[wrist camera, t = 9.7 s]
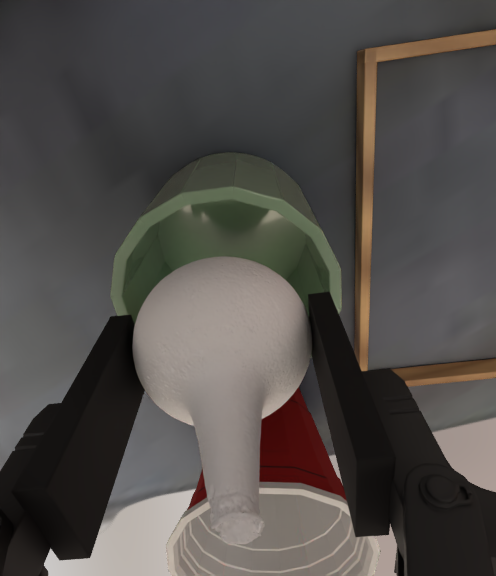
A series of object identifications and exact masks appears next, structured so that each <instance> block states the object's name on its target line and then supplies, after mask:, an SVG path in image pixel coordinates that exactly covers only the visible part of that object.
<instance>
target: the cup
mask: <svg viewBox="0 0 496 576" xmlns="http://www.w3.org/2000/svg"><path fill="white" fill-rule="evenodd" d="M220 256H221V257H223V256H226V257H228V256H229V257H237V258H243V259H248V260H251V261H255V262H257V263H259V264H262V265H264V266H267V267H268V268H270V269H271V270H273V271H274V272H276V273H277V274H279V275H280V276H281V277H282V278H284V279H285V280H286V281H287V282H288V283H289V284H290V285H291V286H292V287H293V289H294V290H295V291H296V293H297V294H298V296H299V297H300V299H301V301H302V302H303V304H304V306H305V308H306V310H307V313H308V316H309V305H308V294H314V293H322V292H330V294H331V296H332V299H333V301H334V304H335V306H336V309H337V311H338V314H339V313H340V311H341V307H342V295H341V267H340V265H339V263H338V261H337V259H336V257H335V255H334V253H333V251H332V249H331V247H330V245H329V243H328V241H327V239H326V237H325V235H324V233H323V231H322V229H321V227H320V226H319V224H318V222H317V220H316V218H315V216H314V214H313V212H312V210H311V208H310V206H309V204H308V202H307V200H306V198H305V196H304V195H303V193H302V191H301V189H300V187H299V185H298V184H297V183H296V182H295V181H294V180H293V179H292V178H291V177H290V176H289V175H288V174H287V173H286V172H284V171H283V170H282V169H280V168H279V167H278V166H276V165H275V164H273V163H271V162H269V161H267V160H265V159H263V158H260V157H257V156H254V155H250V154H245V153H235V152H227V153H217V154H213V155H208V156H205V157H202V158H199V159H197V160H195V161H193V162H192V163H190V164H188V165H186V166H185V167H184V168H182V169H181V170H180V171H178V172H177V173H175V174H174V175H173V176H171V178H170V179H169V180H168V181H167V183H166V184H165V185H164V187H163V188H162V189H161V190H160V192H159V193H158V194H157V196H156V197H155V198H154V199H153V201H152V202H151V203H150V205H149V206H148V207H147V208H146V210H145V211H144V212H143V214H142V215H141V216H140V217H139V219H138V220H137V222H136V223H135V225H134V226H133V228H132V229H131V231H130V232H129V234H128V235H127V237H126V238H125V240H124V242H123V243H122V245H121V246H120V248H119V249H118V251H117V252H116V254H115V256H114V265H113V274H112V284H111V293H110V295H111V300H112V302H113V305H114V308H115V311H116V314H117V316H122V315H130V314H131V315H132V318H133V321H134V324H135V323H136V320H137V316H138V314H139V311H140V309H141V307H142V305H143V303H144V301H145V300H146V298H147V296H148V295H149V293H150V292H151V291H152V290H153V288H154V287H155V286H156V285H157V284H158V283H159V282H160V281H161V280H162V279H163V278H165V277H166V276H168V275H169V274H170V273H172V272H173V271H174V270H176V269H178V268H180V267H182V266H184V265H186V264H189V263H191V262H194V261H197V260H201V259H205V258H211V257H220ZM311 357H312V354H311ZM311 357H310V358H311Z"/></svg>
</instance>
